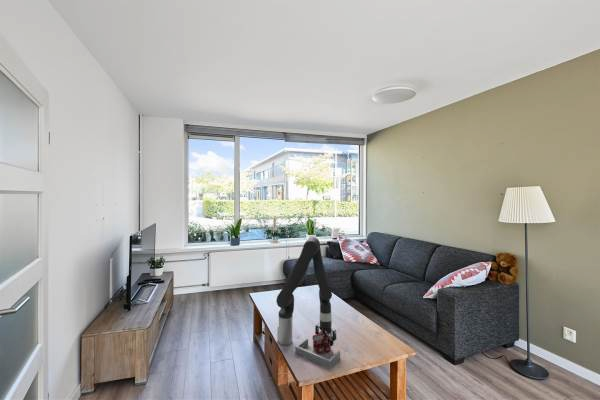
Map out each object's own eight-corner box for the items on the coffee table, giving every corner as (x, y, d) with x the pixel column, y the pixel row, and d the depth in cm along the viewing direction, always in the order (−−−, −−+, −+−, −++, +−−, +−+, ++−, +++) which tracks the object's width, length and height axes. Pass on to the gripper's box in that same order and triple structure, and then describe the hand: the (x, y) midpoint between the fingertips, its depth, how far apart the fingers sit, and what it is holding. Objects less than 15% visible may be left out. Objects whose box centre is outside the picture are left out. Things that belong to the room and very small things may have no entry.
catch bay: (295, 352, 170) (295, 346, 170) (306, 344, 180) (306, 338, 180) (329, 368, 155) (329, 361, 155) (340, 358, 165) (340, 351, 165)
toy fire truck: (333, 351, 172) (333, 334, 172) (315, 355, 168) (315, 338, 167) (328, 345, 179) (328, 329, 178) (310, 349, 174) (310, 332, 174)
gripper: (312, 317, 175) (313, 342, 176) (332, 324, 167) (332, 350, 168) (319, 313, 182) (319, 337, 182) (338, 319, 173) (338, 344, 174)
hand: (325, 343), depth 175 cm, fingers open, 8 cm apart
